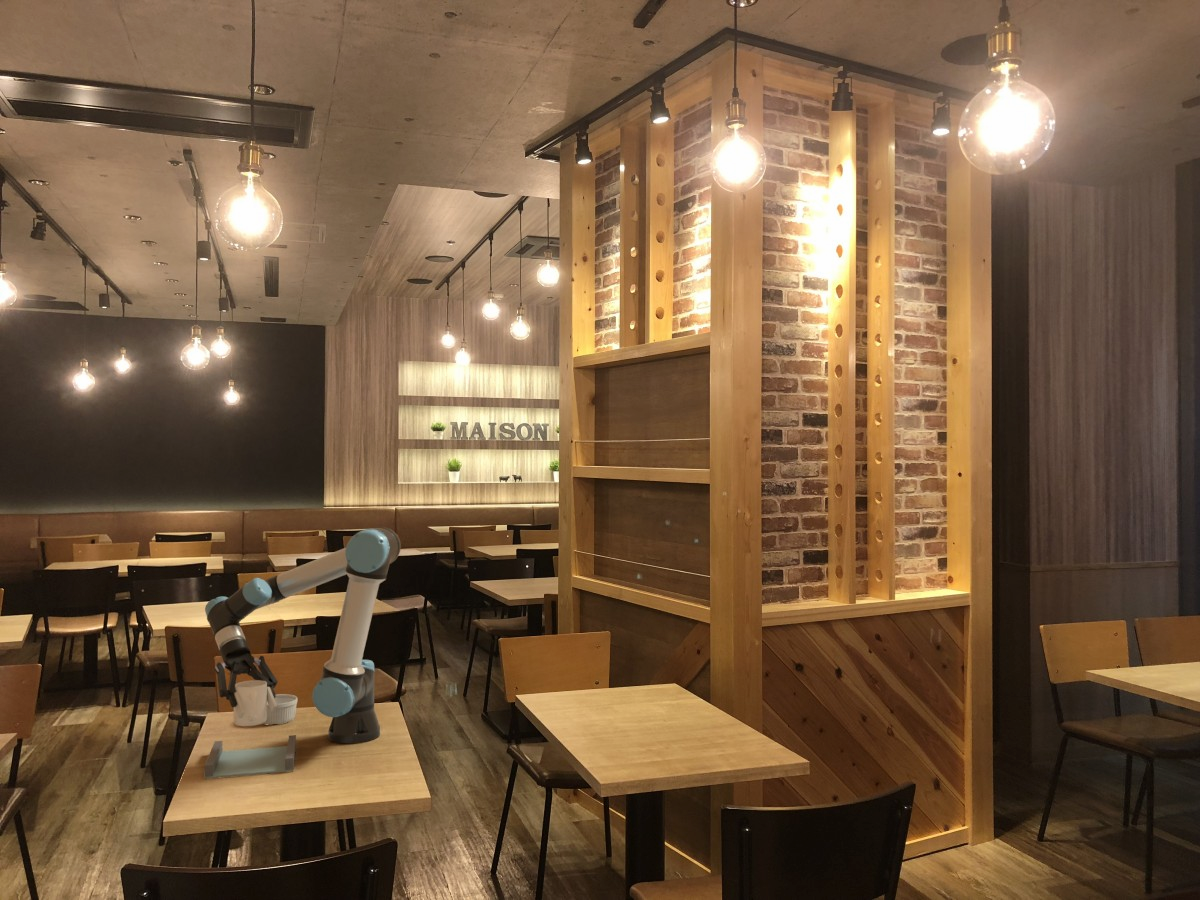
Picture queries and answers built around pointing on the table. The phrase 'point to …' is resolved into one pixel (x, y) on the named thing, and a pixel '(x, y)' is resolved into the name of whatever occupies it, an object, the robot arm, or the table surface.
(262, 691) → the mug
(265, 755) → the tray with side rails
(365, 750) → the table surface
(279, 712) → the ramekin
